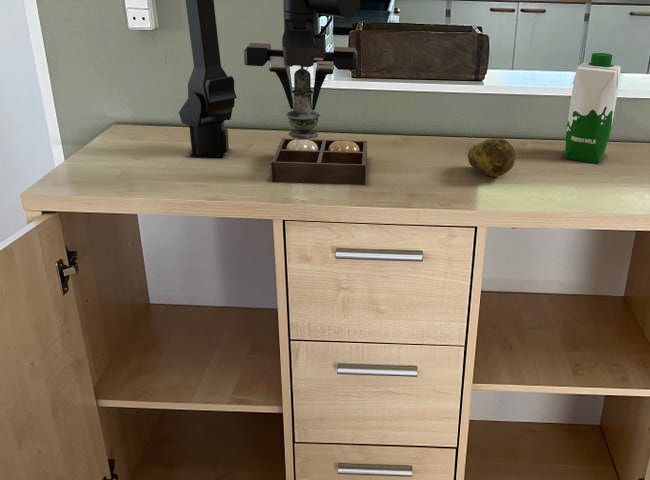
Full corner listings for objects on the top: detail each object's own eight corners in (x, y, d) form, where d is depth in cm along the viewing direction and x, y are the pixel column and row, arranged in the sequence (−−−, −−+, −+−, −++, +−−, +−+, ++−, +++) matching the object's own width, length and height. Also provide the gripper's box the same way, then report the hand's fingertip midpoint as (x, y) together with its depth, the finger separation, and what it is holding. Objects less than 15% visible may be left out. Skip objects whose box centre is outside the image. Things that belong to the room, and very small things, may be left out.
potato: (507, 168, 150) (512, 127, 146) (514, 188, 139) (519, 144, 135) (465, 166, 150) (469, 125, 146) (469, 186, 139) (473, 142, 135)
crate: (272, 181, 137) (271, 162, 136) (282, 155, 152) (281, 138, 150) (365, 184, 138) (365, 165, 136) (366, 158, 153) (367, 140, 151)
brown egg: (327, 166, 147) (326, 143, 144) (328, 160, 150) (328, 137, 148) (360, 167, 147) (360, 145, 145) (360, 161, 151) (360, 139, 148)
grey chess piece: (322, 131, 137) (322, 61, 131) (316, 140, 132) (316, 67, 126) (290, 129, 138) (288, 59, 131) (283, 138, 132) (281, 65, 126)
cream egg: (284, 165, 146) (284, 142, 144) (287, 159, 150) (286, 136, 148) (318, 166, 147) (317, 143, 144) (319, 160, 150) (319, 137, 148)
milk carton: (608, 154, 162) (626, 55, 152) (601, 165, 154) (619, 61, 144) (567, 149, 164) (582, 50, 154) (559, 159, 157) (573, 56, 147)
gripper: (236, 15, 117) (242, 118, 125) (357, 20, 118) (355, 122, 126) (246, 6, 127) (251, 102, 135) (358, 11, 128) (356, 107, 136)
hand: (302, 108), depth 133 cm, fingers closed on grey chess piece, 3 cm apart
